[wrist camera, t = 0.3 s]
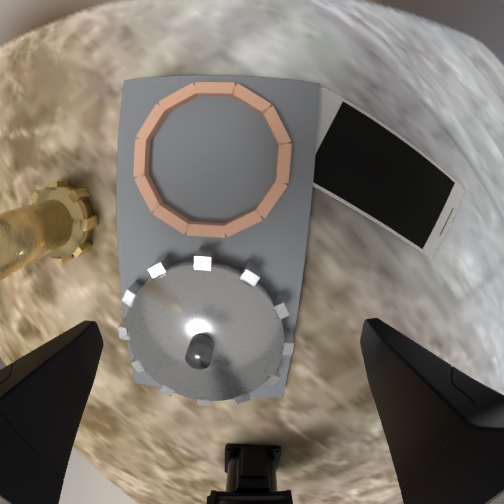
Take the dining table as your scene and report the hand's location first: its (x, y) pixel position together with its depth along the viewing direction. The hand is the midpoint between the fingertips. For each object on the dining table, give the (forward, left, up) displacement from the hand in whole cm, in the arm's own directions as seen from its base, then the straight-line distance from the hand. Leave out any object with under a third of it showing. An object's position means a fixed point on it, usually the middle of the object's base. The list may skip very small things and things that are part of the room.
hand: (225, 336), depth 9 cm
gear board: (-2, +2, -14) cm, 14 cm away
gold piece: (0, +15, -14) cm, 21 cm away
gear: (-8, +2, -13) cm, 15 cm away
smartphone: (+5, -11, -15) cm, 19 cm away
